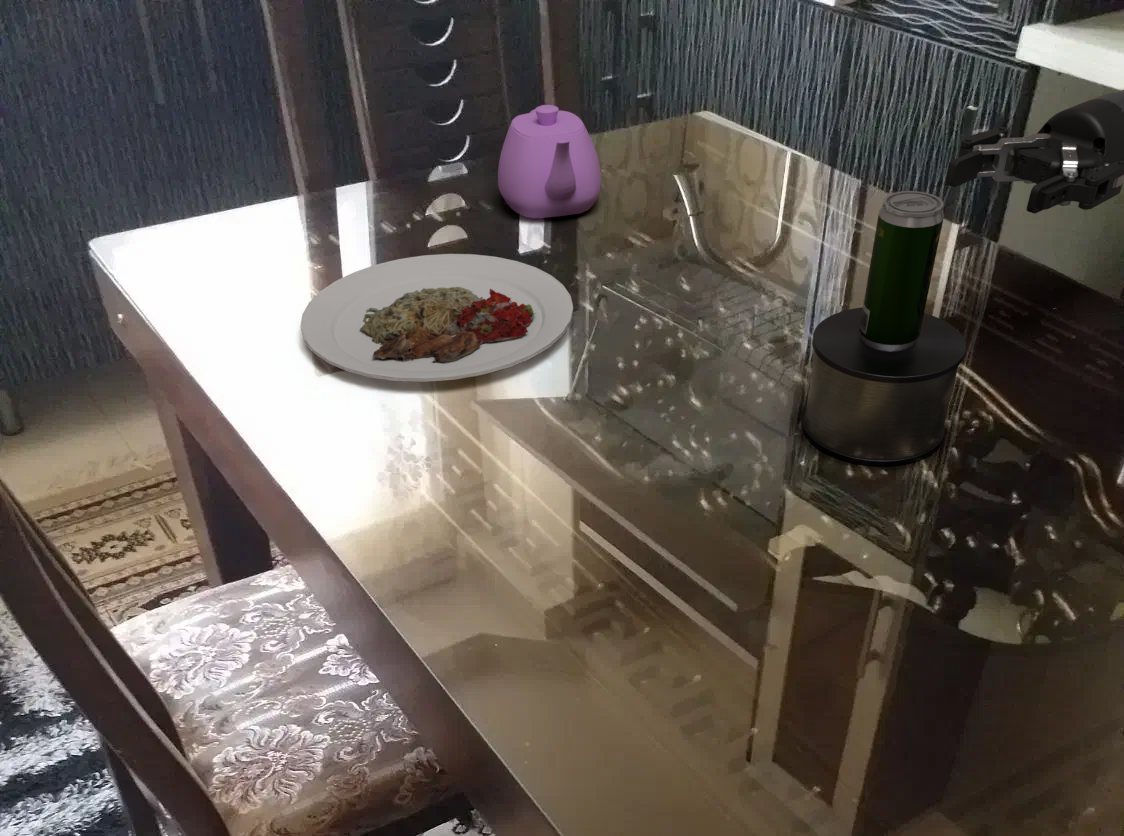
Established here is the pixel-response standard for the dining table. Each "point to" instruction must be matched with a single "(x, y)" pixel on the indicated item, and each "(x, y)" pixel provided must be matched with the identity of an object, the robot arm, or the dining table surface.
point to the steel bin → (880, 392)
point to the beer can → (901, 270)
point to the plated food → (436, 317)
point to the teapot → (548, 165)
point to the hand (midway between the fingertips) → (990, 187)
